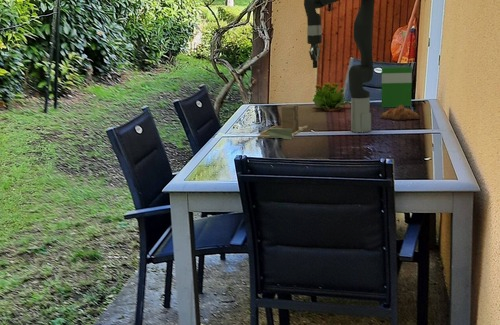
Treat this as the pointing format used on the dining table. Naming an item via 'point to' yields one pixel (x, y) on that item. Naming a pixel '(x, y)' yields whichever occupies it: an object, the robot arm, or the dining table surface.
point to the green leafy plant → (329, 97)
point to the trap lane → (280, 132)
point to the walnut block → (290, 117)
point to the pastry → (400, 114)
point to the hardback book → (396, 86)
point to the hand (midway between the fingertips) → (315, 67)
